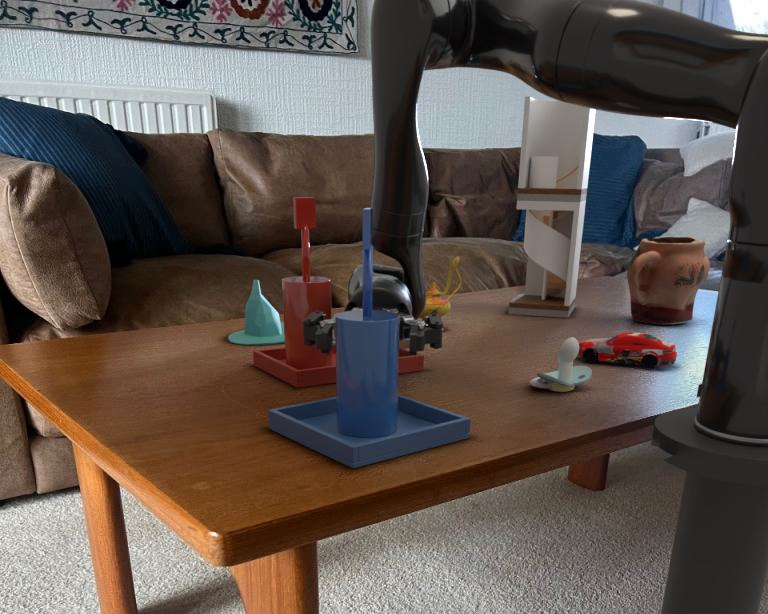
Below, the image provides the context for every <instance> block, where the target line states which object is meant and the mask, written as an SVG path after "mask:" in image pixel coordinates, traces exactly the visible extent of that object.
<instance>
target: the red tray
mask: <svg viewBox="0 0 768 614" xmlns="http://www.w3.org/2000/svg"><path fill="white" fill-rule="evenodd" d="M252 354H253V355H252V359H253V366H254V367H256V368H257V369H260V370H262V371H264V372H266V373H267V374H269V375H272V376H274V377H275V378H277V379H280V380H281V381H283V382H284V383H287V384H289V385H291V386H293V387H294V388H297V389H299V388H300V389H301V388H307V387H313V386H314V387H315V386H322V385H328V384H336V346H333V347H332V366H326V367H319V368H311V369H303V370H298V369H295V368H293V367H291V366H289V365H287V364H285V346H281V347H272V348H263V349H254V350H252ZM424 359H425V355H424V354H421V353H418V352H417V355H409V349H399V375H400V374H407V373H414V372H421V371H424V364H425V363H424Z"/></svg>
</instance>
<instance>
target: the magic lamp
mask: <svg viewBox="0 0 768 614" xmlns="http://www.w3.org/2000/svg"><path fill="white" fill-rule="evenodd" d="M459 263H460V256H457V257H455V258H452V259H451V260H450V261H449V264H448V265H449V267H448V275H447V281H446V286H445V288H444V290H443V291H441V289H440V287H439V286H438V285H437V283H436V282H435V281H432V282H431V284H430V286H429V288H428V290H426V305H425V308H424V311H423V313H422V314H421V316H420V317H419V318H418V319H421V321H425V316H429V314H432V313H436V314H439V315H440V317H441V318H442V317H443V316H445V315H446V314H448V313H449V312H450V311H451V303H450V301H449V300H450V299H451V298H452V297H453V296H454V295H455V294H456V293H457V292H458V290H459V289H460V288H461V286H462V278H461V275H460V273H459V271H458V269H457V267H458V265H459ZM453 270H454V272H455V274H456V275H457V277H458V281H459V284H458V286H457V287H456V288H455V289H454V291H452V293H450V295H448V296H447V297H446V298H445V299H443V298H441V296H443V295H446V294H448V291H449V289H450V287H451V282H452V276H453ZM444 330H445V329H444V327H443V328H442V332H443V331H444Z"/></svg>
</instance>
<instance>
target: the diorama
mask: <svg viewBox="0 0 768 614" xmlns="http://www.w3.org/2000/svg"><path fill="white" fill-rule="evenodd" d="M260 285H261V284H260V280H259V279H253V281H252V286H251V293H250V296H249V297H248V299H247V302H246V303H245V311H244V329H242V330H237V331H235V332H232V333H231V334H229V335H228V337H227V340H228V341H229V342H230V343H231V344H234V345H240V346H241V345H242V346H266V345H268V346H269V345H278V344H285V342H284V321H281V319H280V314H279V312H278V311H277V310H276V309H275V307H274V306H272V304H271V303H270V302H269V301H268V300H267V298H266V297H265V296H264V295H263V294H262V291H261V286H260Z"/></svg>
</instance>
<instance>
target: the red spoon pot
mask: <svg viewBox="0 0 768 614" xmlns="http://www.w3.org/2000/svg"><path fill="white" fill-rule="evenodd" d="M292 206H293V207H292V208H293V228H294V229H299V230H301V231H300V234H301V261H302V262H301V263H302V265H301V266H302V267H301V268H302V275H298V276H297V275H296V276H288V277H284V278H282V279H281V289H282V290H281V292H282V311H283V312H282V313H283V315H282V317H283V322H284V342H285V343H284V347H285V364H287V365H289V366H291V367H293V368H295V369H298V370H303V369H311V368H319V367H326V366H332V349H331V350H330V352H329V353H322V352H321V349H317V348H316V344H315V345H312V346H307V345H304V339H303V320H304V319H305V318H306V317H307V316H309V315H310V314H311V313H312V312H316V311H320V312H324V314H326V319H333V318H332V317H333V316H332V315H333V313H332V311H333V309H332V279H331V278H329V277H326V276H316V275H311V262H310V261H311V256H310V229H316V228H317V215H316V214H317V211H316V197H315V196H311V197H310V196H308V197H306V196H305V197H299V196H298V197H293V198H292Z"/></svg>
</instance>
